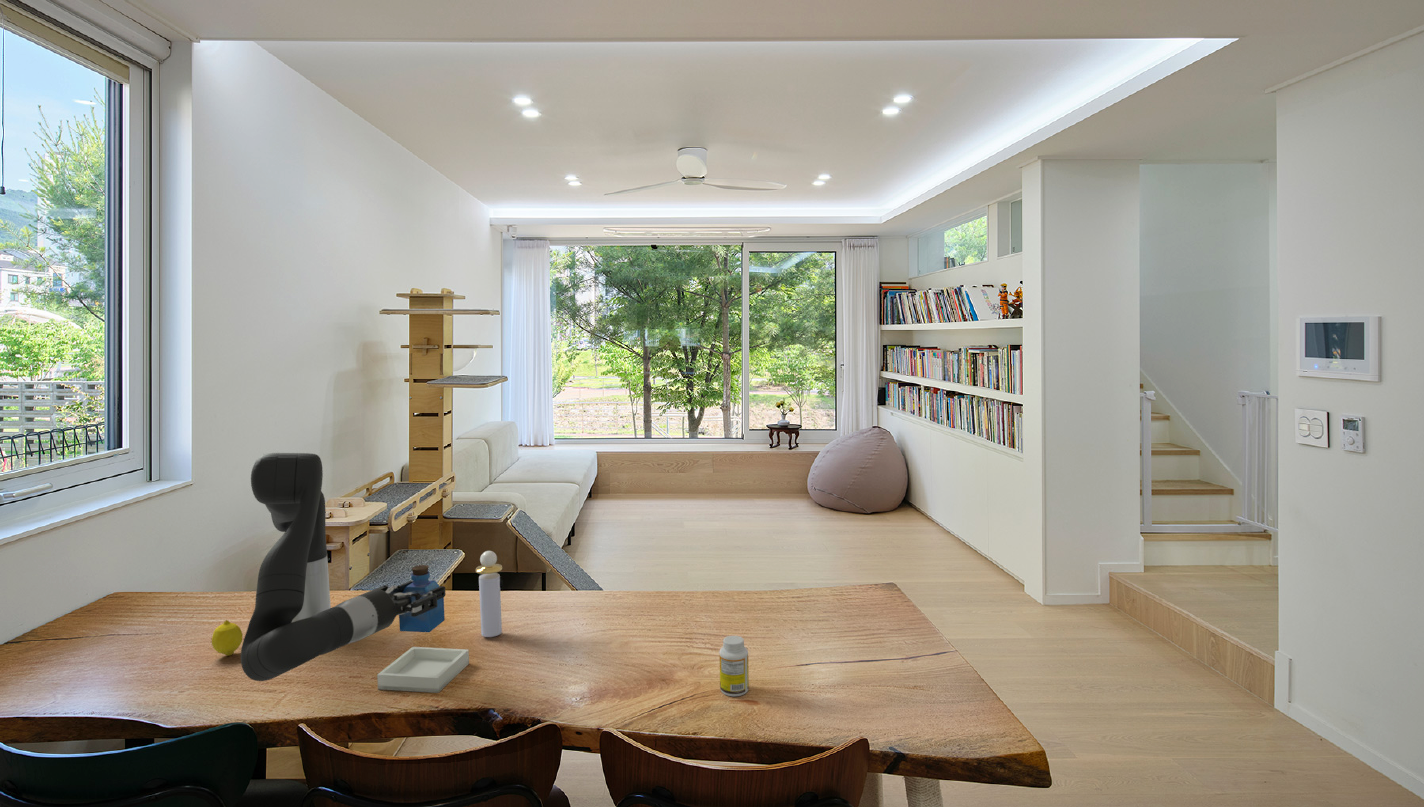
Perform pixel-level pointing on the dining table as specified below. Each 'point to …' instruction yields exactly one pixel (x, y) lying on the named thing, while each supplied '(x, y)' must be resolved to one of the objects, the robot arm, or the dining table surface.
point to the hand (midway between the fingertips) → (428, 588)
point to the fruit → (227, 638)
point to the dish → (423, 669)
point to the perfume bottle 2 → (490, 594)
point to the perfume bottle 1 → (420, 584)
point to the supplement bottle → (734, 667)
